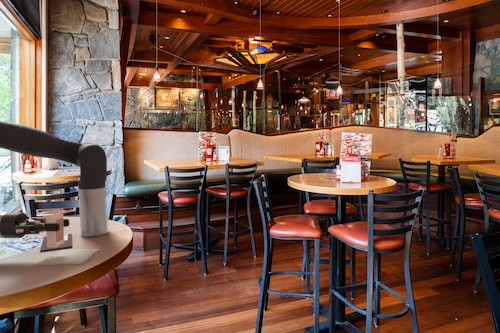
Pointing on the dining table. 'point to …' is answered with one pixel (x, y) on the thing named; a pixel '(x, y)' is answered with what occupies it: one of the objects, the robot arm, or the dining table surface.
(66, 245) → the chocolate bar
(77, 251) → the mat
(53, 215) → the deck box
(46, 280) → the dining table surface
